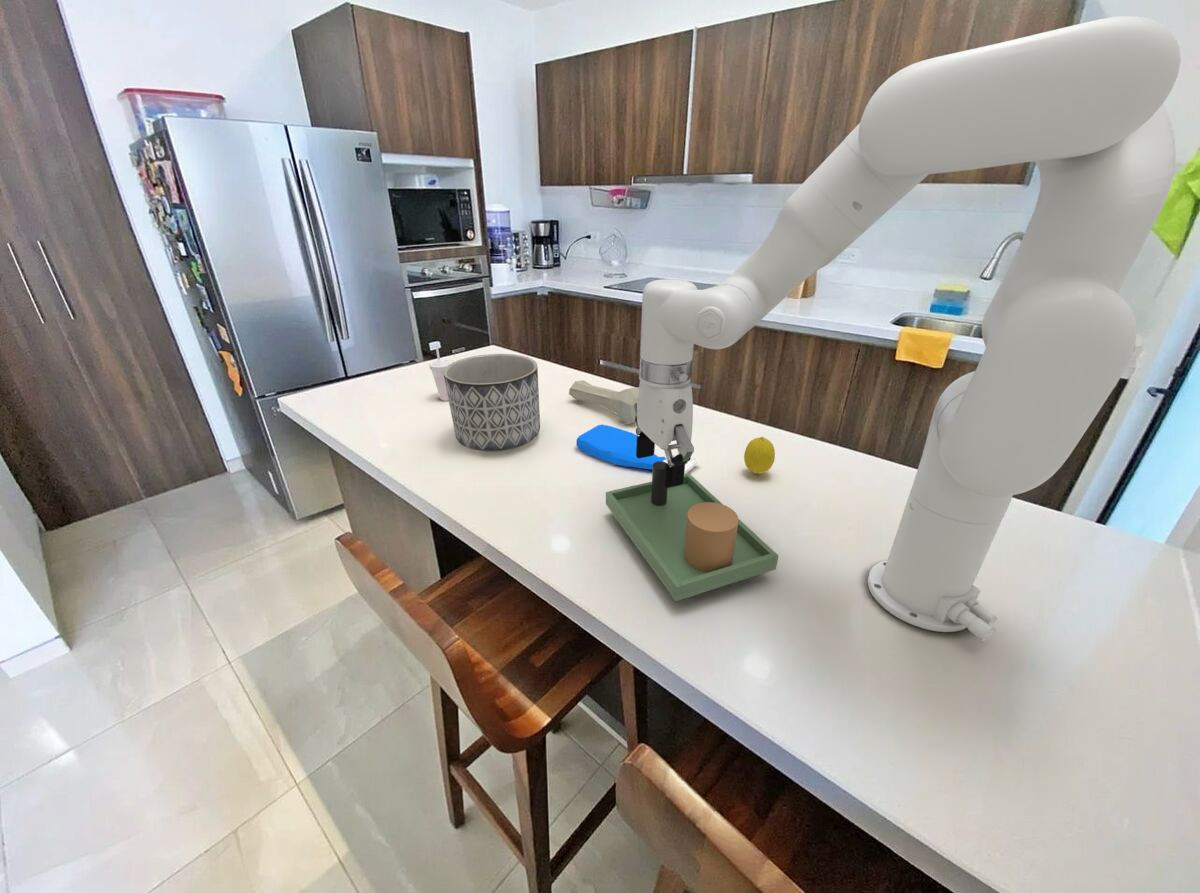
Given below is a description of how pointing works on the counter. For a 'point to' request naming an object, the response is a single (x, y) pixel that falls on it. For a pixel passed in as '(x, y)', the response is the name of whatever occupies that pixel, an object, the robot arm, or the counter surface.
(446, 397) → the smoothie
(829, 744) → the counter surface
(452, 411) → the planter
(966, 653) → the counter surface
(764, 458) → the lemon
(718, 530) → the stubby tan cylinder
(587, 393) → the faceted club
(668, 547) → the tray
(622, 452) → the spray bottle
